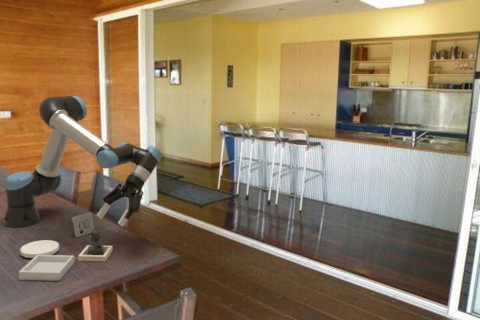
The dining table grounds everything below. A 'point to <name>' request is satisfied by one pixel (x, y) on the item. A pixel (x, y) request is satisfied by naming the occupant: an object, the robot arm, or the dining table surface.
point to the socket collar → (85, 257)
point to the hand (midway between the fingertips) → (109, 221)
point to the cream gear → (39, 248)
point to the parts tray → (47, 267)
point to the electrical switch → (82, 224)
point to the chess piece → (95, 243)
